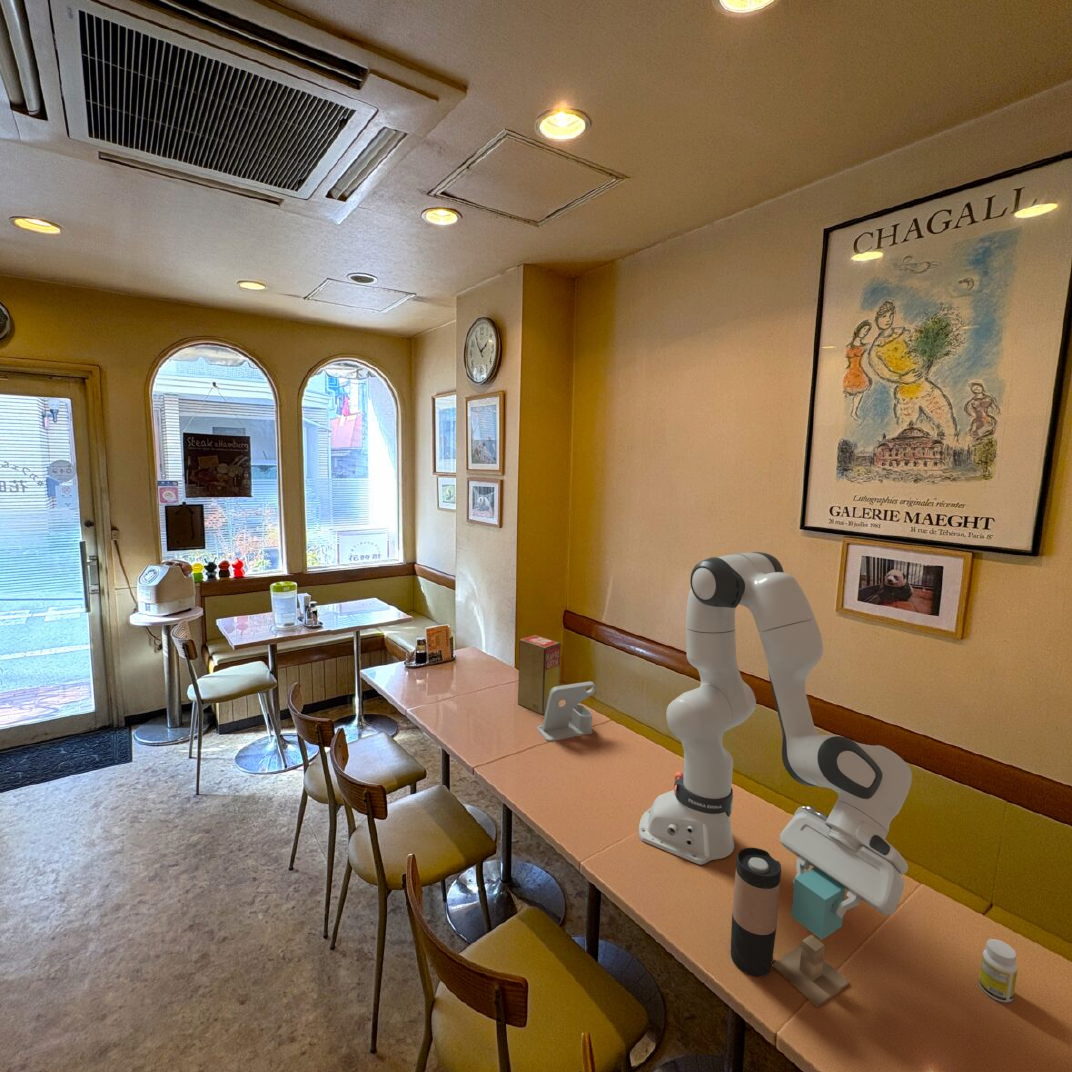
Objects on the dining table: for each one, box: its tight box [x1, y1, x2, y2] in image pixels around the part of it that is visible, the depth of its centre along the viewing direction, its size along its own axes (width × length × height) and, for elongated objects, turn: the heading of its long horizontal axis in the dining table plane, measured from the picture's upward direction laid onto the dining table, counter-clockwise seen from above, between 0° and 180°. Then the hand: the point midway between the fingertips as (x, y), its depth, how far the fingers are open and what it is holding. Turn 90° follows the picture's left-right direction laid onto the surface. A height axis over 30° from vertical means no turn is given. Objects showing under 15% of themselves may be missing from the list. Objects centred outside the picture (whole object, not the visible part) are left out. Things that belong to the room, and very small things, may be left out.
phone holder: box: [536, 680, 597, 742], centre depth 190 cm, size 17×10×18 cm, turn 113°
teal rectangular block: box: [790, 867, 847, 941], centre depth 100 cm, size 6×6×8 cm
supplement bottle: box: [978, 938, 1018, 1003], centre depth 99 cm, size 5×5×8 cm
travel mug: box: [730, 847, 782, 978], centre depth 103 cm, size 8×8×20 cm
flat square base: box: [771, 934, 850, 1008], centre depth 101 cm, size 9×9×6 cm
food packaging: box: [517, 634, 562, 716], centre depth 208 cm, size 13×9×25 cm
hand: (816, 900), depth 99 cm, fingers closed on teal rectangular block, 6 cm apart
